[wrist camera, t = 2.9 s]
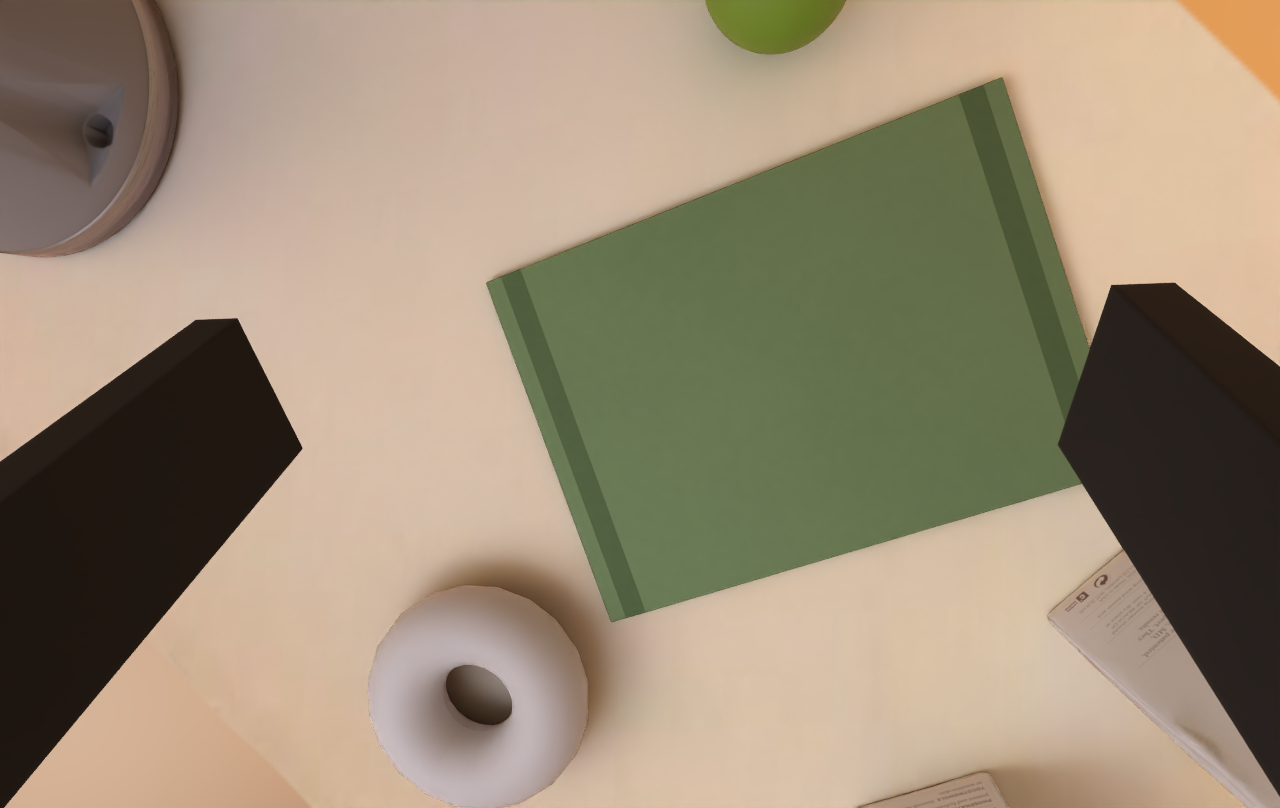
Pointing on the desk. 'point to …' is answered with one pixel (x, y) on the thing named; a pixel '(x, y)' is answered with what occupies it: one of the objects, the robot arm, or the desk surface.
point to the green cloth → (805, 358)
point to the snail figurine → (773, 22)
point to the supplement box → (1158, 675)
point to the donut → (444, 738)
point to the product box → (951, 795)
